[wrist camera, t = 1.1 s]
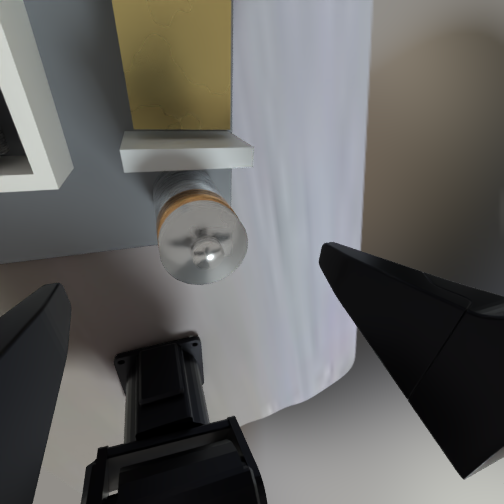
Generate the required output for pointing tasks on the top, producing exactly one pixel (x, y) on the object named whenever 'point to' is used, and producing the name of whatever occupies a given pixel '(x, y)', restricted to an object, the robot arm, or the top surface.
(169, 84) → the plate
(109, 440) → the top surface
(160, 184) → the cell
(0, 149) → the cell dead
